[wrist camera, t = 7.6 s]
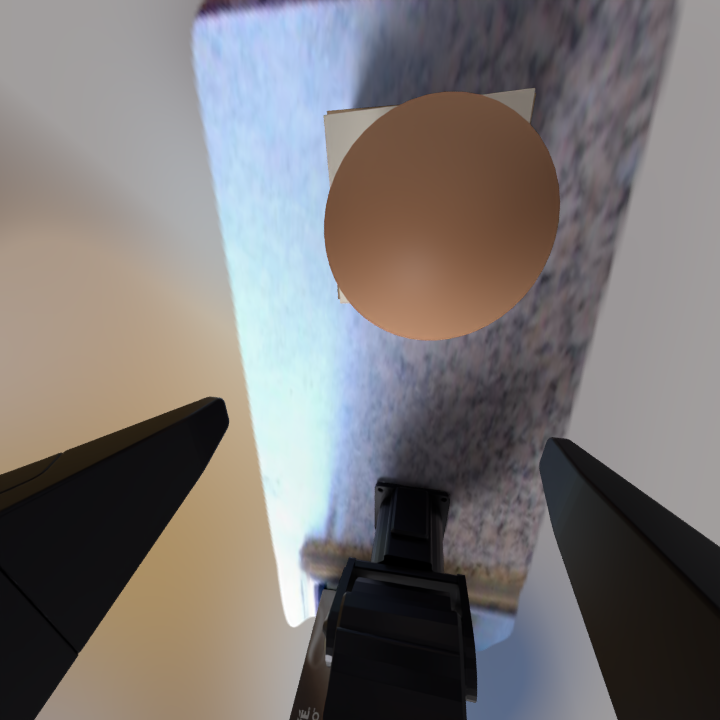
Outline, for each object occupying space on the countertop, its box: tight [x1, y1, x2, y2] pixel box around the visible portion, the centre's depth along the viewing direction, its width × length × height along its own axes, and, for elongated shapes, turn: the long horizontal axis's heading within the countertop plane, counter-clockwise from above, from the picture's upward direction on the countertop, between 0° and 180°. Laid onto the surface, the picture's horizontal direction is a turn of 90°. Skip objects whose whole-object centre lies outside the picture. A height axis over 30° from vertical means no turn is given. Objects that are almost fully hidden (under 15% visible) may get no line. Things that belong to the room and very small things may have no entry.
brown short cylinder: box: [324, 92, 560, 340], centre depth 8 cm, size 5×5×4 cm
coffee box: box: [289, 589, 336, 720], centre depth 32 cm, size 9×6×16 cm
